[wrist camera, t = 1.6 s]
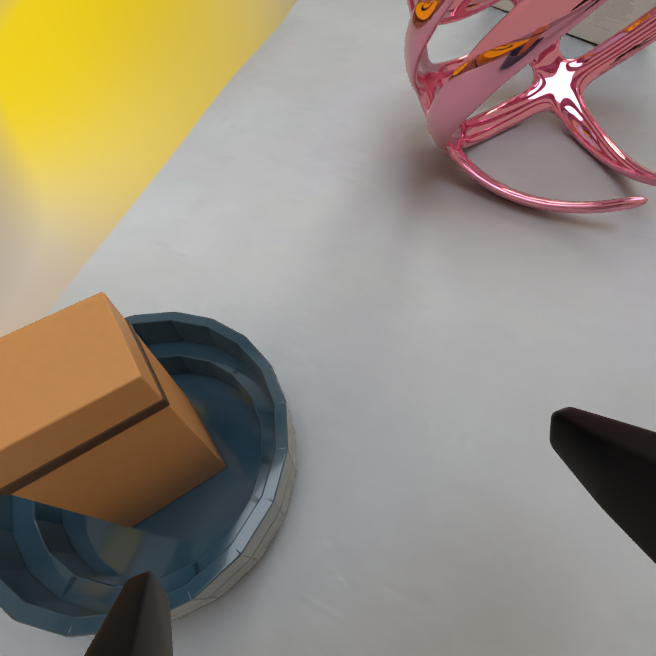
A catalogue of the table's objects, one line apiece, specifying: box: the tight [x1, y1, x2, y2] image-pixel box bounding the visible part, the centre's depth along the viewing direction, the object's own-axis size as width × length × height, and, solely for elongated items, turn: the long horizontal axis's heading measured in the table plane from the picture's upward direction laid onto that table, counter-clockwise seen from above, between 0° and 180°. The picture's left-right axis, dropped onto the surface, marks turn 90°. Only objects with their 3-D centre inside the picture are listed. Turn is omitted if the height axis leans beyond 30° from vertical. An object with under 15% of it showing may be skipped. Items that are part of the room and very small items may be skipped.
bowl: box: [0, 312, 296, 637], centre depth 21 cm, size 14×14×6 cm
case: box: [0, 292, 226, 528], centre depth 17 cm, size 4×6×12 cm
